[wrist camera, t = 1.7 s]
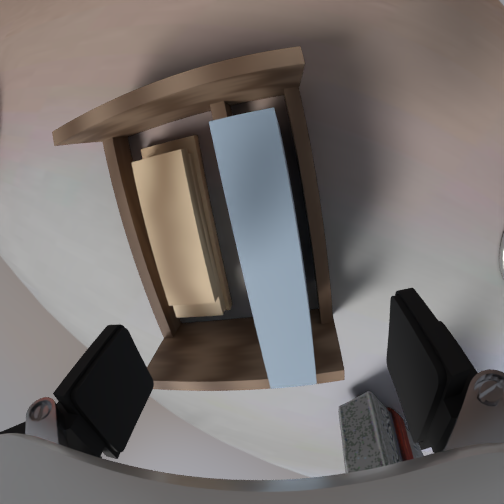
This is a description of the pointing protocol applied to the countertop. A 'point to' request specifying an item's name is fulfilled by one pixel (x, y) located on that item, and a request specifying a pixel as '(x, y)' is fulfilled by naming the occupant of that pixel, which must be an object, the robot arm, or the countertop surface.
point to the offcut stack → (182, 227)
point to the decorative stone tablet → (373, 435)
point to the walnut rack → (122, 177)
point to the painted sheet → (267, 242)
